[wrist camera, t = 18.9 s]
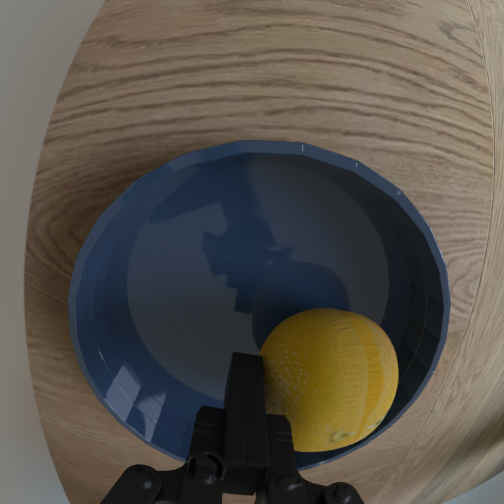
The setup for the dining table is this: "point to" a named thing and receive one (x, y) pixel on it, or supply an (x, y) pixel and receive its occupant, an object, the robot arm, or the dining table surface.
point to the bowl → (247, 279)
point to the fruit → (329, 377)
